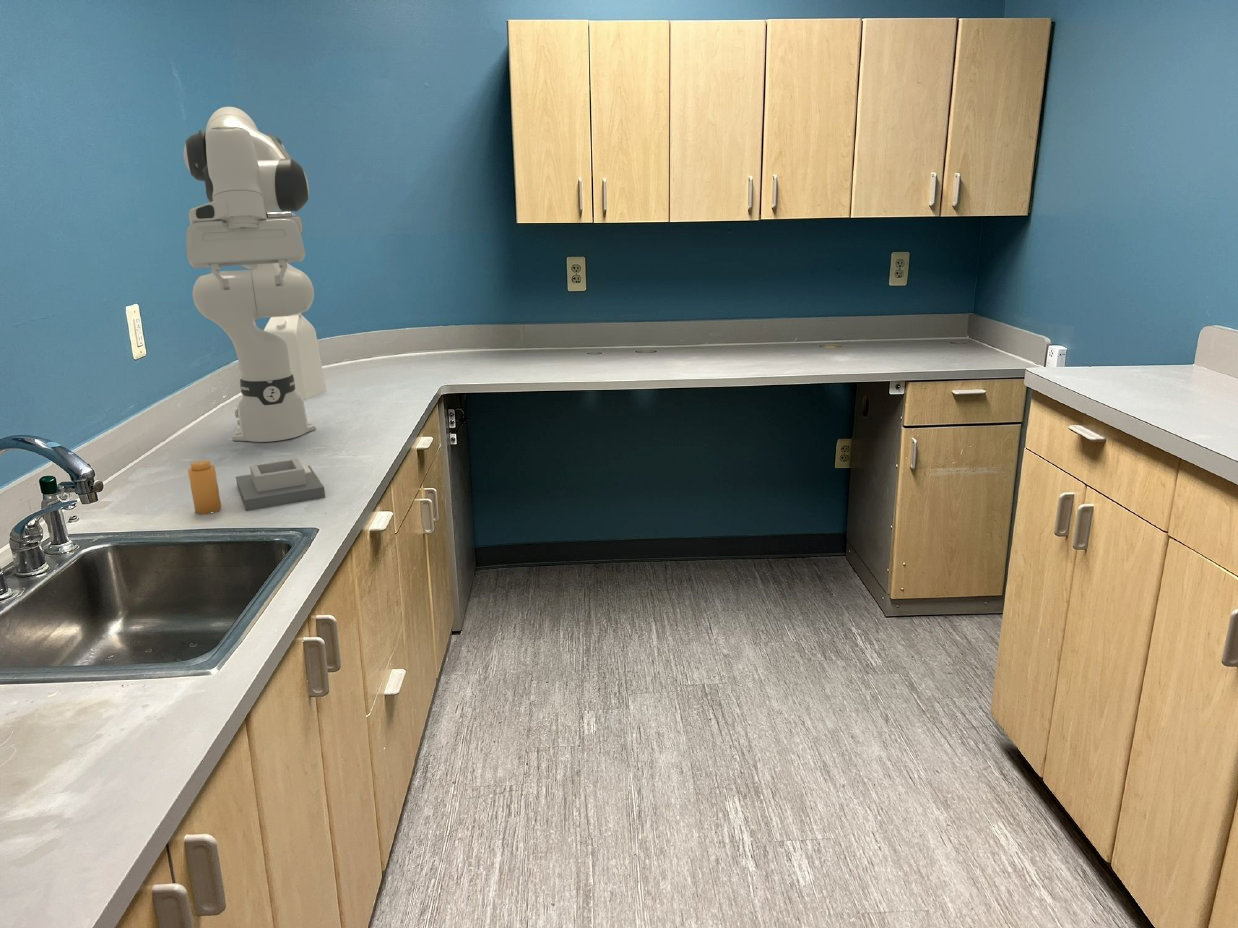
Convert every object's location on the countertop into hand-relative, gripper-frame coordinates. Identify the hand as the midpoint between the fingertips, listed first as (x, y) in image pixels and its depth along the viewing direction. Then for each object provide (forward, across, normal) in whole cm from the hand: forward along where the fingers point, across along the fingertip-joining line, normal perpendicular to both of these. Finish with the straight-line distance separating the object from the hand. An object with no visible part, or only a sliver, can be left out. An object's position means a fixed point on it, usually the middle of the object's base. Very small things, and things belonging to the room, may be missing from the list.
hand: (252, 287), depth 160 cm
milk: (+10, -6, -95) cm, 96 cm away
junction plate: (+38, +1, -7) cm, 39 cm away
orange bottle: (+40, +14, -2) cm, 42 cm away
